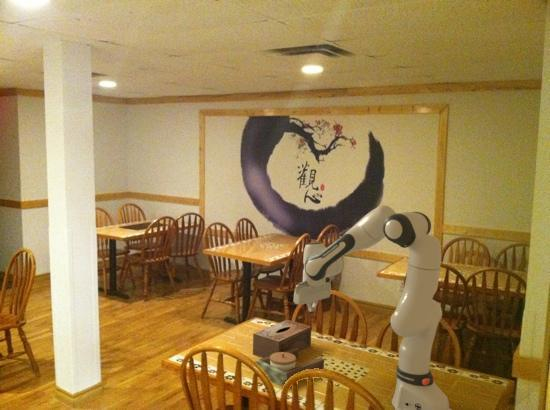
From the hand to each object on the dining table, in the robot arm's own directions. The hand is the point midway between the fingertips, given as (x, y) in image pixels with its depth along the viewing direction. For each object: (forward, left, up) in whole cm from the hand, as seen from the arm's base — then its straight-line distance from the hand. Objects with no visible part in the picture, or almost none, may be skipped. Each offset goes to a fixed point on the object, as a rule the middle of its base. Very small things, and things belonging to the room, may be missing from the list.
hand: (311, 310), depth 213 cm
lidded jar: (0, +17, -24) cm, 29 cm away
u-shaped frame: (+1, +11, -24) cm, 26 cm away
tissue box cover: (+19, -2, -25) cm, 31 cm away
